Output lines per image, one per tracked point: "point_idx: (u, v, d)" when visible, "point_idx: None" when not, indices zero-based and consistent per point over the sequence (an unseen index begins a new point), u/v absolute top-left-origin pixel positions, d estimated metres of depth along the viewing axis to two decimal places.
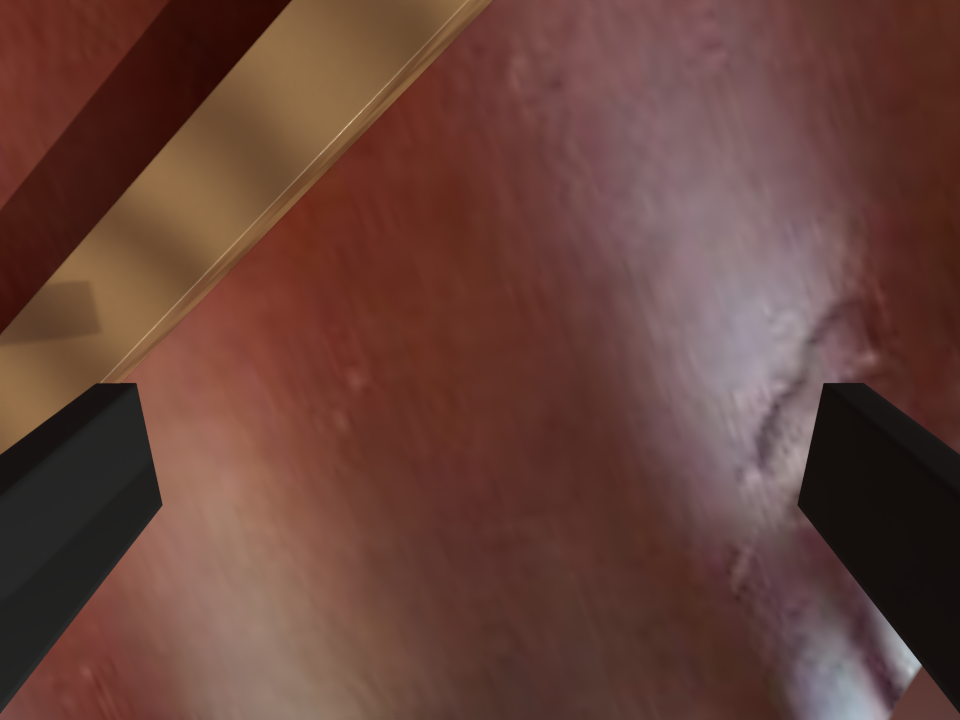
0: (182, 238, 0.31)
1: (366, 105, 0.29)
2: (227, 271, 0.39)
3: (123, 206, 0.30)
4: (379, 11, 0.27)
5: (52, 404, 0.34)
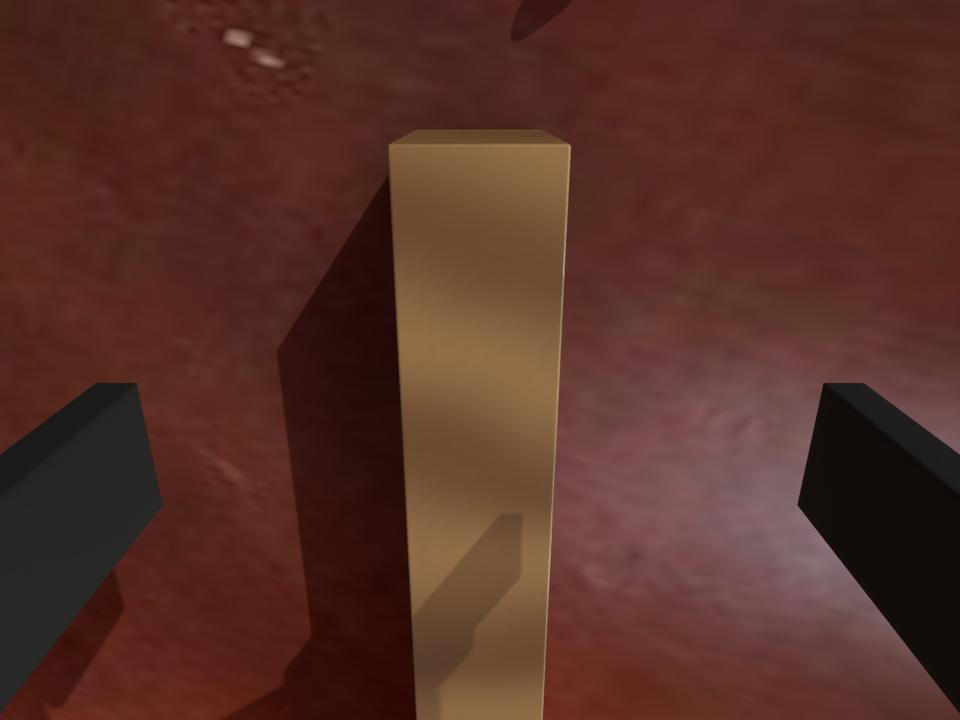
0: None
1: None
2: None
3: None
4: None
5: None
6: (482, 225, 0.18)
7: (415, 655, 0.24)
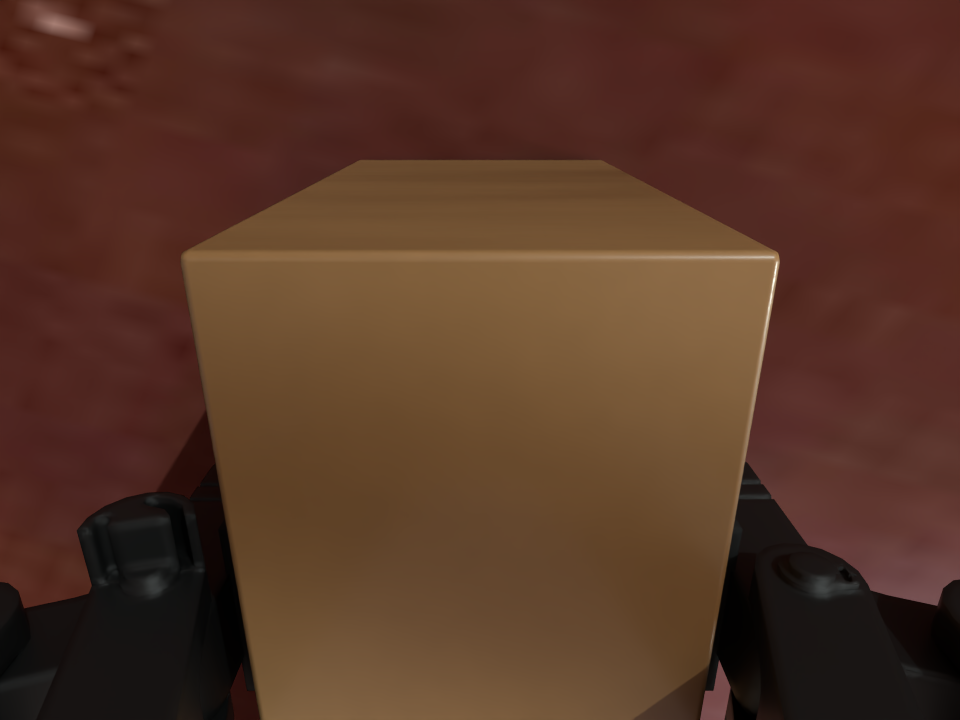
0: None
1: None
2: None
3: None
4: None
5: None
6: (489, 482, 0.06)
7: None
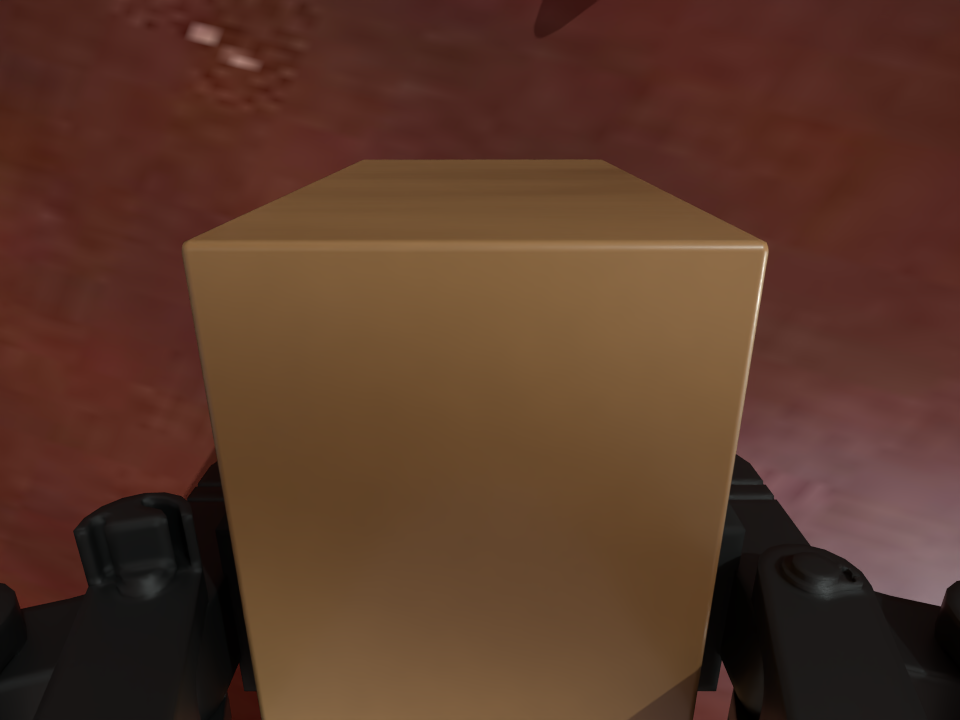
0: None
1: None
2: None
3: None
4: None
5: None
6: (484, 471, 0.06)
7: None
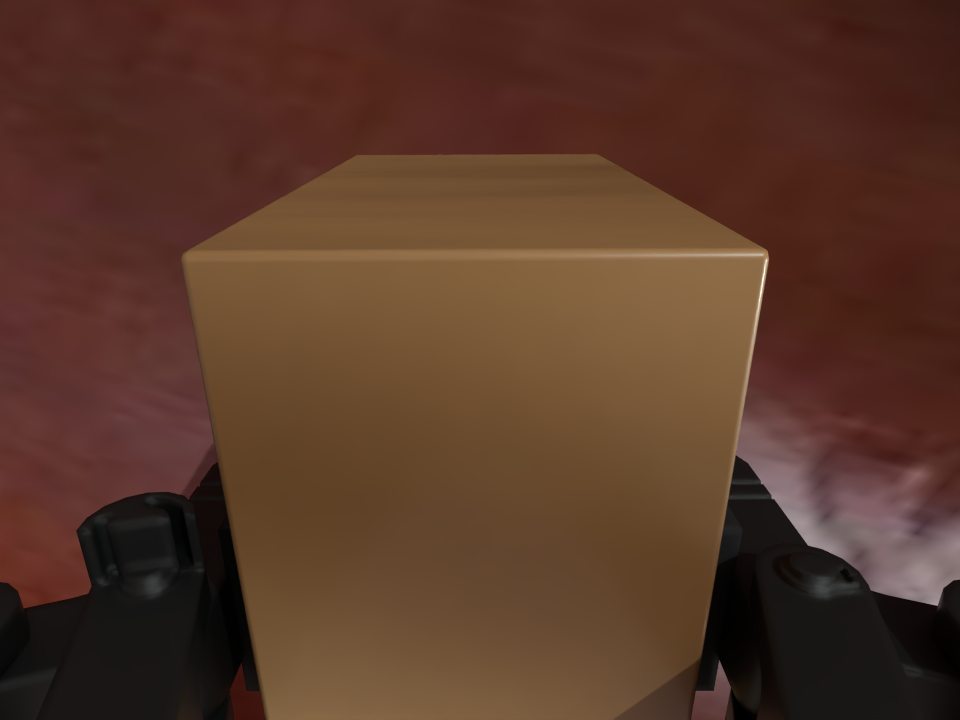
0: None
1: None
2: None
3: None
4: None
5: None
6: (487, 477, 0.06)
7: None
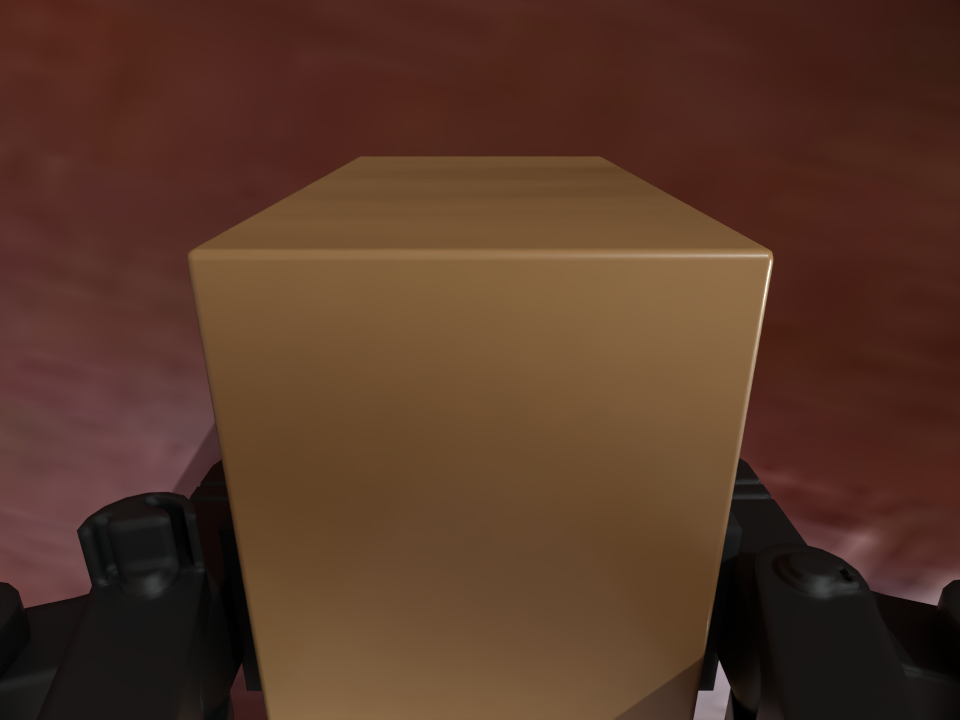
0: None
1: None
2: None
3: None
4: None
5: None
6: (489, 476, 0.06)
7: None
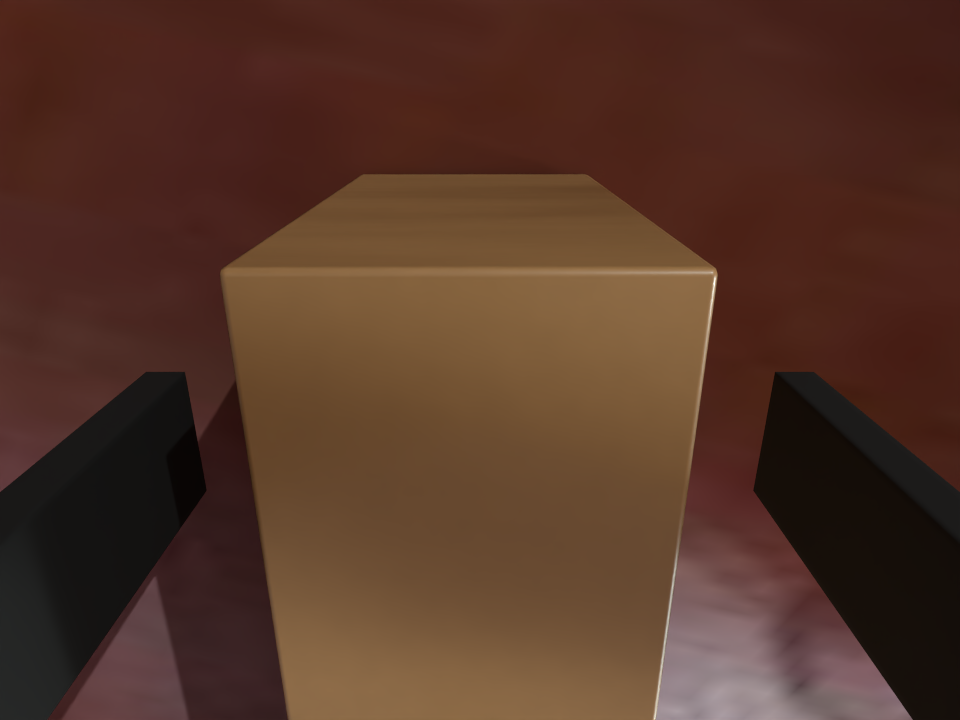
0: None
1: None
2: None
3: None
4: None
5: None
6: (479, 462, 0.07)
7: None
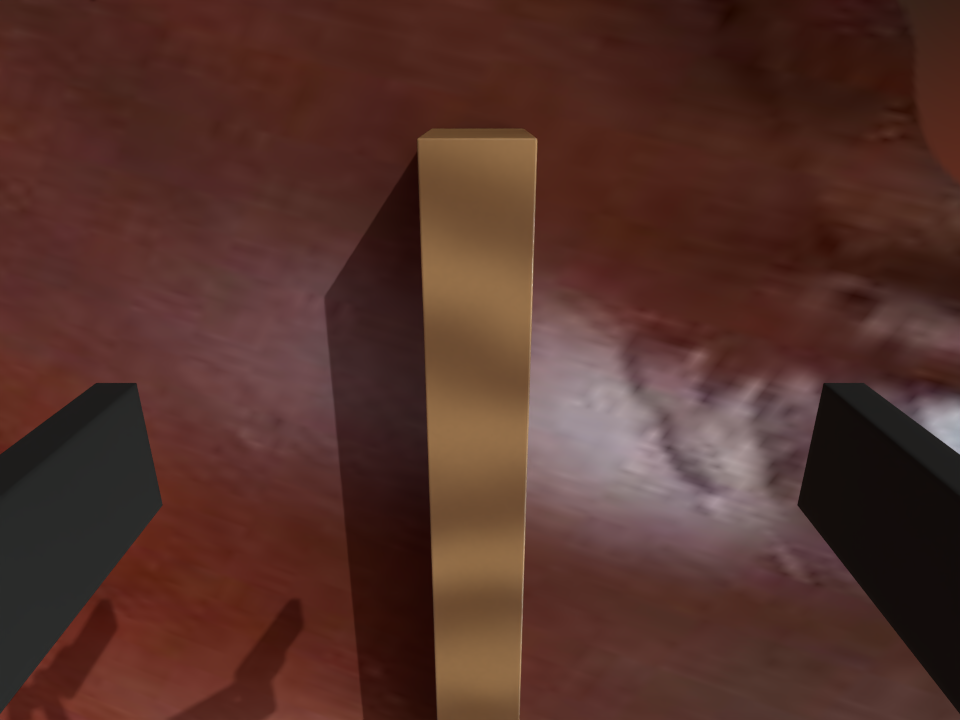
0: None
1: (520, 651, 0.38)
2: None
3: None
4: (483, 610, 0.36)
5: None
6: (479, 192, 0.28)
7: (431, 509, 0.34)
